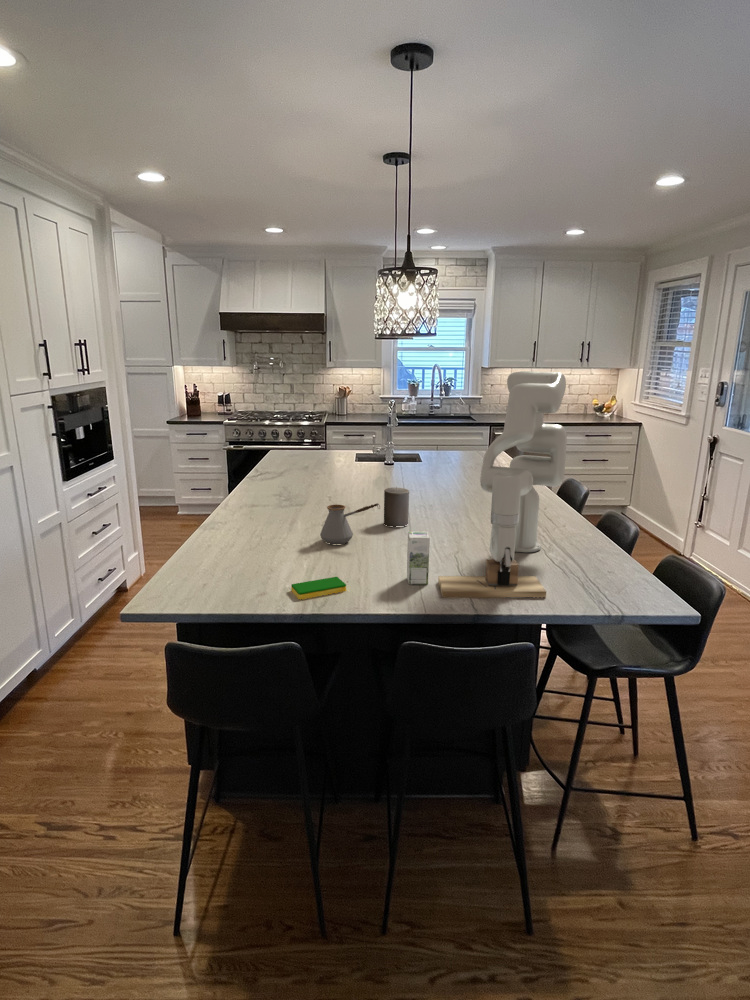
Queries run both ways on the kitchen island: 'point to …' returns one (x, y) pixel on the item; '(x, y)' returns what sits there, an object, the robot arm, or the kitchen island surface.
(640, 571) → the kitchen island surface
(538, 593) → the board
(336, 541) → the coffee pot
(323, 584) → the dish sponge
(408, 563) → the syrup box
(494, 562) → the block
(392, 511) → the pillar candle
